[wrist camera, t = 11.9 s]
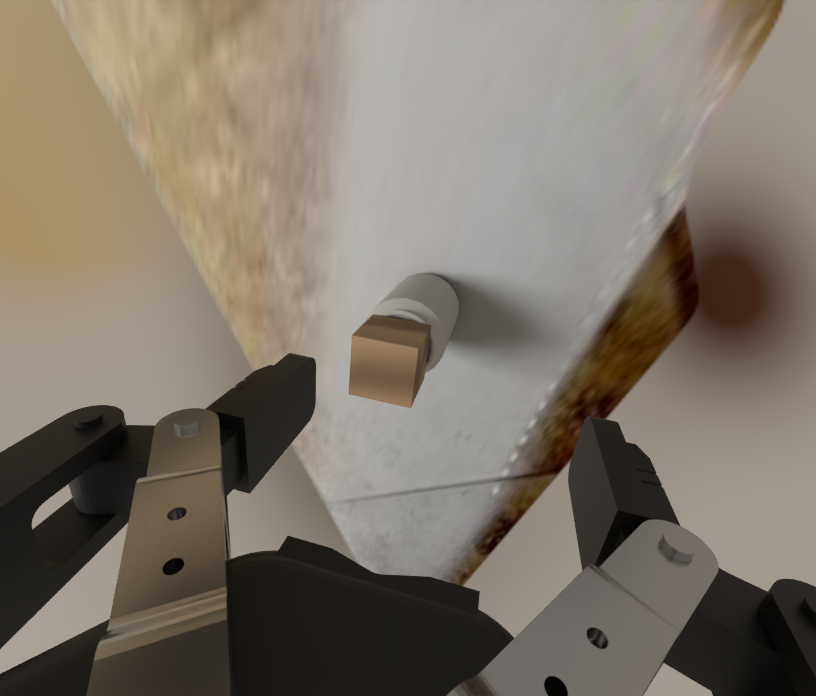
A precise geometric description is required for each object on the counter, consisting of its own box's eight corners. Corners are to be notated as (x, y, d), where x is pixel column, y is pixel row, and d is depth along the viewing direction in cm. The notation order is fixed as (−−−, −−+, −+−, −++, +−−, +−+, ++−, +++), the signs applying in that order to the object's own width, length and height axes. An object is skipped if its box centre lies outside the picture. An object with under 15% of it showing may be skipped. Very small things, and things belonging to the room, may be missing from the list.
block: (373, 314, 35) (352, 335, 31) (431, 325, 34) (418, 348, 30) (369, 366, 37) (348, 394, 33) (424, 378, 36) (410, 408, 32)
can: (465, 332, 46) (450, 381, 36) (402, 340, 49) (369, 388, 38) (453, 265, 44) (432, 297, 33) (387, 277, 46) (347, 310, 35)
